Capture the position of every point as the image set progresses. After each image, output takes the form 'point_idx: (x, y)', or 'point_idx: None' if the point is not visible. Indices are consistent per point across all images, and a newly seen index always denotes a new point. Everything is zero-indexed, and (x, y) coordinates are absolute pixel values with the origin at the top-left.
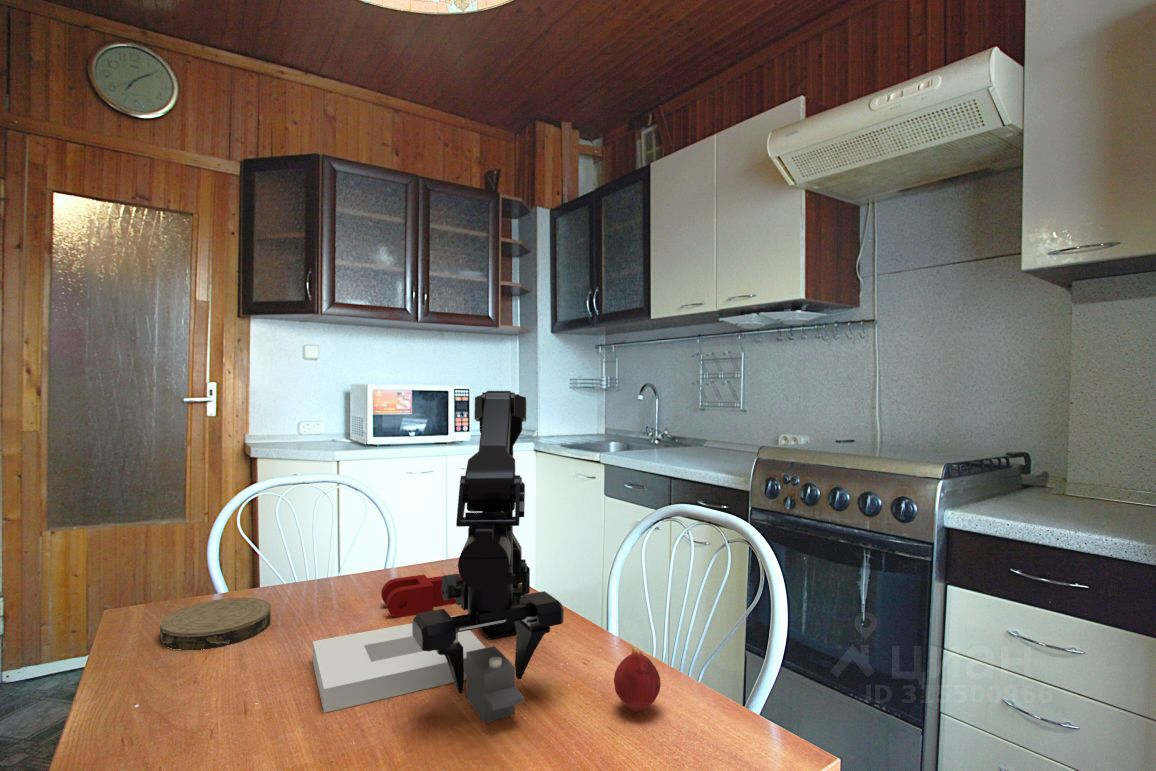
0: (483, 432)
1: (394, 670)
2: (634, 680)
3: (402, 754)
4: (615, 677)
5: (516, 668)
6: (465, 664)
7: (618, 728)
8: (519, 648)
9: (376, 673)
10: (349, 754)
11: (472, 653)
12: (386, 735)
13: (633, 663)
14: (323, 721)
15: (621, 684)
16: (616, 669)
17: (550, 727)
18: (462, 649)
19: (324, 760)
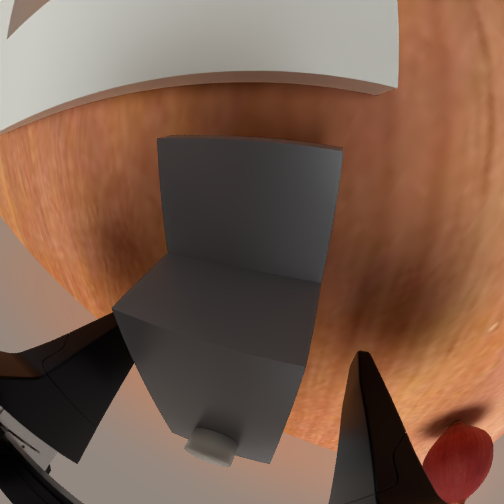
0: None
1: (19, 101)
2: None
3: (94, 307)
4: (437, 473)
5: (354, 383)
6: (176, 193)
7: None
8: (351, 466)
9: (2, 107)
10: (45, 260)
11: (140, 341)
12: (68, 249)
13: None
14: (10, 157)
15: None
16: (448, 477)
17: (330, 404)
18: (78, 458)
19: (31, 252)
